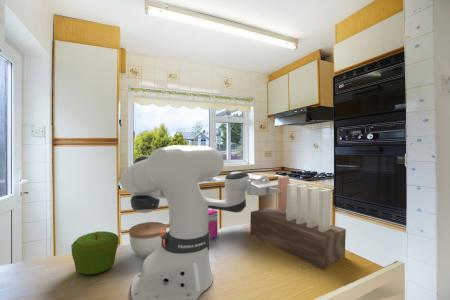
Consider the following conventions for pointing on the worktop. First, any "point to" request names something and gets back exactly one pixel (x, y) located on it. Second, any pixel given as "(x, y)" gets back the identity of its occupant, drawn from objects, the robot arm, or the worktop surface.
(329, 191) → the domino
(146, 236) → the lidded bowl
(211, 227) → the supplement box
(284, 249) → the domino stand
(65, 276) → the worktop surface
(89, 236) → the apple
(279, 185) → the domino
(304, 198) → the domino
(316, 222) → the domino
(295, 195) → the domino
